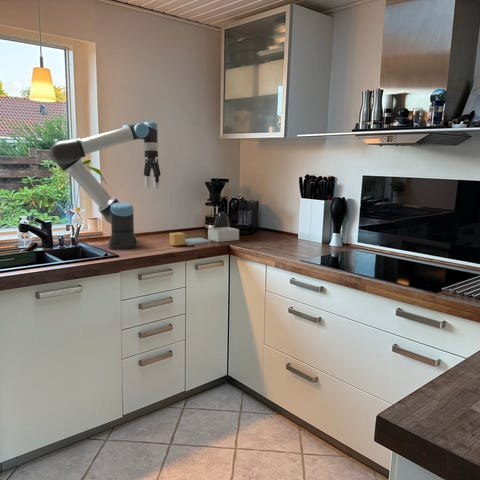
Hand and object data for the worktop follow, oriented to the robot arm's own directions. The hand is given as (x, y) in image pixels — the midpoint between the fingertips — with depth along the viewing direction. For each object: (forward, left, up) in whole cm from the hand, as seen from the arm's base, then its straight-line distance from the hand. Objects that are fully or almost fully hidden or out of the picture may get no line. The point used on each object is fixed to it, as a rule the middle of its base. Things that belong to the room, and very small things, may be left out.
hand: (152, 187), depth 253 cm
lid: (+12, -23, -31) cm, 40 cm away
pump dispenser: (+42, -7, -31) cm, 53 cm away
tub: (+34, -23, -31) cm, 51 cm away
